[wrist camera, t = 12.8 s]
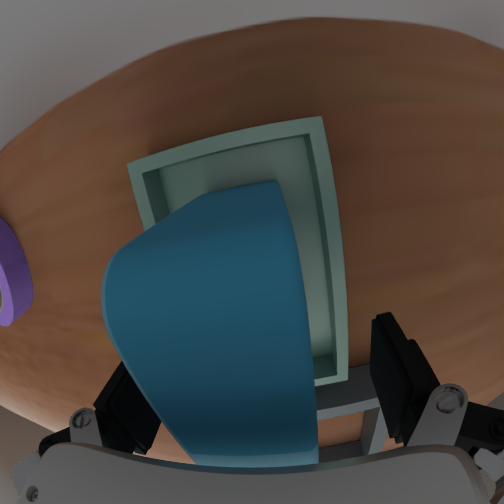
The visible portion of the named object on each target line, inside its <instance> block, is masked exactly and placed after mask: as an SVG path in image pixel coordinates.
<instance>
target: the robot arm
mask: <svg viewBox="0 0 504 504" xmlns="http://www.w3.org/2000/svg"><path fill="white" fill-rule="evenodd" d="M370 375H371V378H372V381H373V384H374V387H375V390H376V394H377V397H378V400H379V403H380V406H381V410H382V413H383V416H384V420H385V423H386V427H387V430H388V434H389V437H390V438H395V442H396V444H398V443H401V442H403V444H404V446H405V447H403V448H398V449H392V450H388V451H383V452H379V453H374V454H369V455H364V456H359V457H354V458H349V459H343V460H337V461H330V462H323V463H316V464H307V465H297V466H283V467H218V466H205V465H194V464H186V463H178V462H171V461H165V460H159V459H153V458H148V457H143V456H139V455H134V454H133V451H134V452H135V453H139V454H143V455H146V453H147V451H148V450H149V449H150V448H151V447H152V444H153V441H154V439H155V436H156V434H157V431H158V429H159V426H160V424H161V420H160V418H159V417H158V416H157V414H156V413H155V411H154V410H153V409H152V407H151V406H150V404H149V403H148V401H147V400H146V398H145V397H144V395H143V394H142V392H141V391H140V389H139V388H138V386H137V385H136V383H135V381H134V380H133V378H132V377H131V375H130V373H129V372H128V370H127V368H126V367H125V365H124V363H123V361H121V363H120V364H119V366H118V367H117V369H116V370H115V372H114V373H113V375H112V376H111V378H110V379H109V381H108V382H107V384H106V385H105V387H104V388H103V390H102V391H101V393H100V395H99V396H98V398H97V399H96V401H95V402H94V404H93V406H94V407H95V408H96V410H95V411H94V410H92V409H91V408H81V409H79V410H77V411H76V412H75V413H73V415H72V416H71V418H70V421H69V427H68V428H66V429H63V430H61V431H59V432H56V433H54V434H51V435H49V436H47V437H45V438H44V439H43V440H42V441H41V443H40V445H39V451H38V450H35V451H34V452H32V453H31V454H30V455H28V456H27V457H25V458H24V459H23V460H21V461H20V462H19V463H17V464H16V465H15V466H14V467H13V469H12V472H11V475H12V479H13V481H14V484H15V486H16V489H17V491H18V494H19V498H18V500H17V502H16V504H504V410H499V409H495V408H491V407H488V406H484V405H480V404H476V403H473V402H469V401H468V395H467V393H466V391H465V390H464V389H463V388H462V387H461V386H459V385H456V384H451V383H447V384H442V385H440V383H439V381H438V379H437V377H436V375H435V374H434V372H433V370H432V368H431V366H430V365H429V363H428V361H427V359H426V358H425V356H424V354H423V353H422V351H421V349H420V347H419V346H418V344H417V343H416V341H415V340H414V339H410V340H407V338H406V336H405V335H404V333H403V331H402V329H401V328H400V326H399V324H398V323H397V321H396V320H395V318H394V316H393V315H392V313H391V312H387V313H382V314H378V315H377V316H376V319H373V320H372V333H371V353H370ZM480 469H484V470H485V471H486V472H488V473H489V474H488V476H489V477H490V478H492V479H493V481H494V482H495V484H496V489H495V494H494V495H493V497H492V498H491V500H490V499H489V496H488V492H487V489H486V486H485V483H484V481H483V478H482V476H481V474H480V471H479V470H480Z"/></svg>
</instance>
